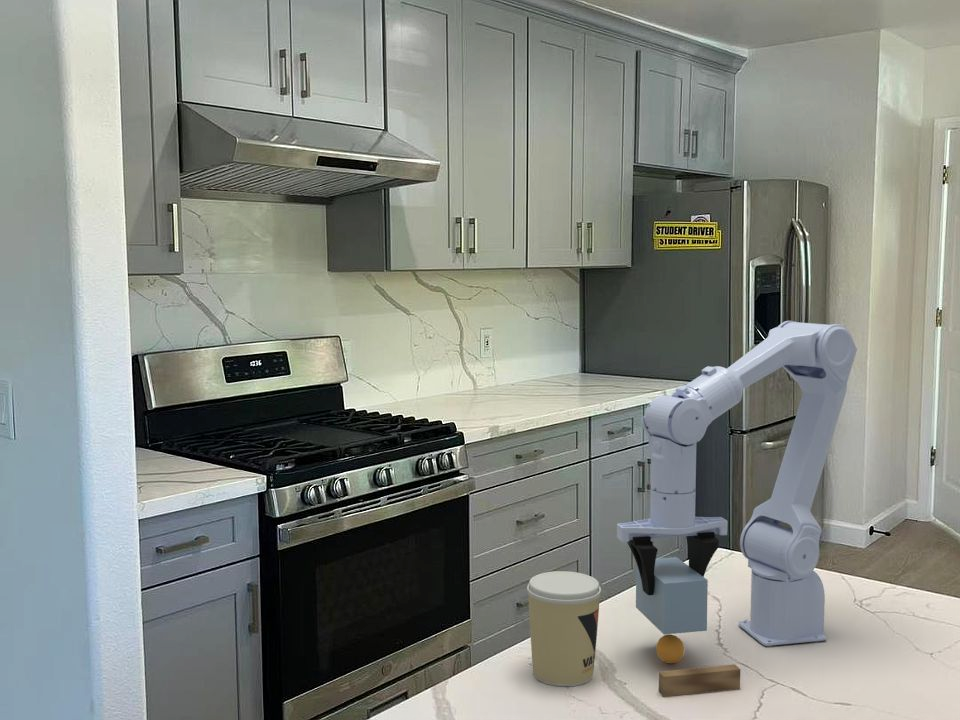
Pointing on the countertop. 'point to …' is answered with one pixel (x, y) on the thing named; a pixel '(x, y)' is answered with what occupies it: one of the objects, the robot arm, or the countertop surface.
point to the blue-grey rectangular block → (674, 597)
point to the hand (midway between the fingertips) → (671, 590)
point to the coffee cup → (563, 626)
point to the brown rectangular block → (699, 680)
